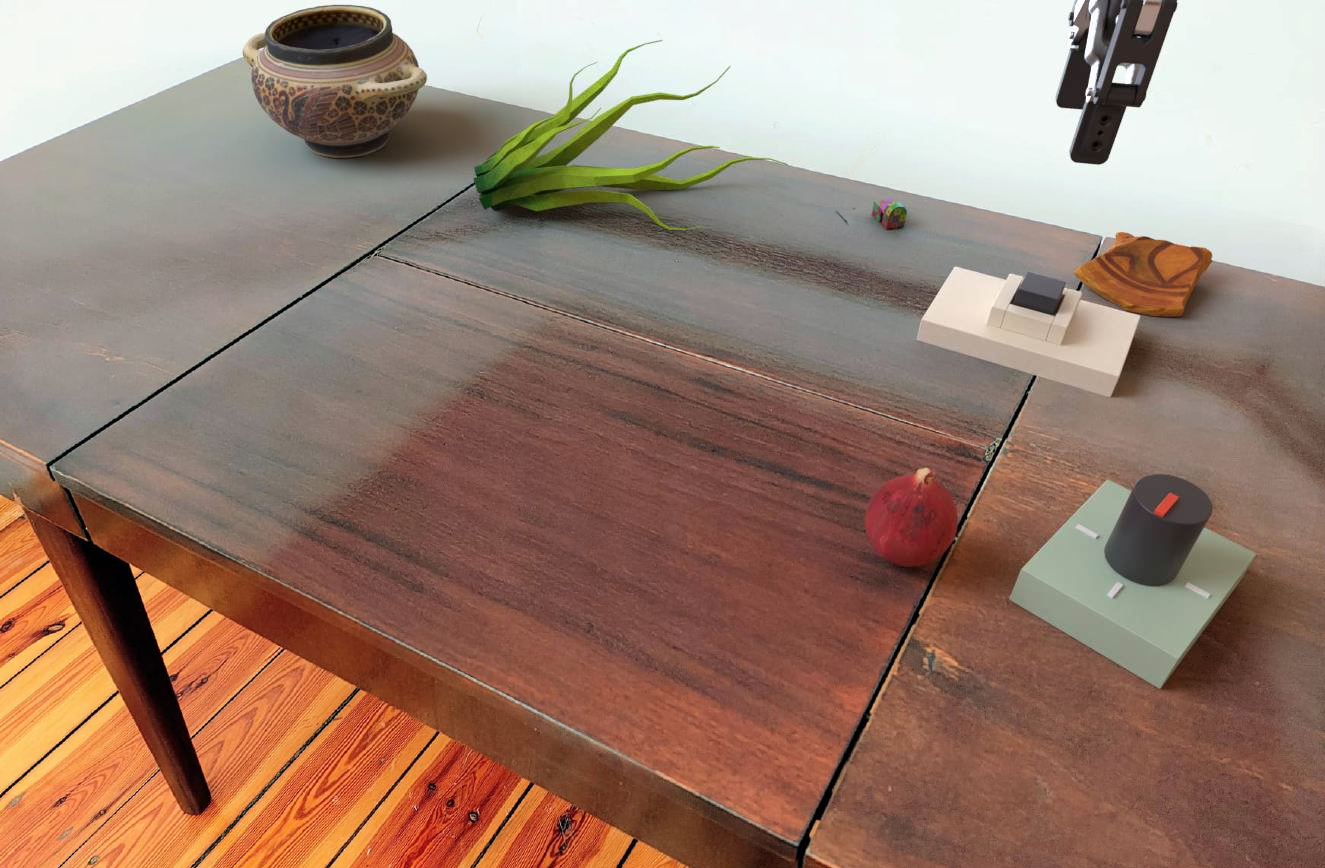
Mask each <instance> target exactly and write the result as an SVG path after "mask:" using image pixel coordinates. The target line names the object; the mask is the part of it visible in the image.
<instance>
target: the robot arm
mask: <svg viewBox="0 0 1325 868" xmlns="http://www.w3.org/2000/svg"><path fill="white" fill-rule="evenodd" d="M1177 9H1178V0H1074V2H1073V6H1072V9H1071V11H1070V12H1069V14H1068V19H1067V20H1068V27H1072V28H1071V30H1070V31H1069V33H1068V38H1067V40H1068V46H1070V48H1069V51H1068V54H1067V57H1066V61H1065V64H1064V67H1063V70H1062V73H1061V76H1060V81H1059V84H1058V88H1057V90H1056V93H1055V97H1054V98H1055V99H1054V100H1055V103H1056V106H1057V107H1059V108H1060V109H1071V110H1081V113H1080V115H1079V119H1078V122H1077V125H1076V129H1075V132H1074V134H1073V137H1072V140H1071V143H1070V146H1069V151H1068V153H1069V158H1070V160H1071V161H1072V162H1073V163H1077V164H1087V165H1097V166H1100V165H1103V164H1105V163H1106V162H1107V161H1108V160H1109V158H1110V155H1111V152H1112V149H1113V147H1114V143H1115V141H1116V138H1117V135H1118V132H1119V130H1120V127H1121V125H1122V121H1123V119H1124V116H1125V112H1126V110H1127V107H1129V108H1139V109H1140V108H1141V107H1142V105H1143V103H1144V102H1145V100H1146V98H1147V92H1148V90H1149V86H1150V84H1151V80H1152V77H1153V75H1154V72H1155V69H1156V66H1157V63H1158V60H1159V57H1160V56H1161V55H1160V54H1161V52H1162V49H1163V46H1164V43H1165V39H1166V37H1167V34H1168V31H1169V29H1170V25H1171V23H1172V20H1173V17H1174V14H1175V13H1176V11H1177ZM1118 67H1123V68H1125V76H1124V82H1113V80H1114V79H1115V74H1116V71H1117V68H1118Z"/></svg>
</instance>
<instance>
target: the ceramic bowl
mask: <svg viewBox="0 0 1325 868" xmlns="http://www.w3.org/2000/svg"><path fill="white" fill-rule="evenodd" d="M242 57H243V59H244V60H245V62H246V63H247V64H248V65H249V66H250V67H251V84H252V91H253V93H254V96H255V98H256V100H257V102H258V104H259V105H260V108H261V109H263V111H264V112H265V113H266V115H267V116H268V117H269V118H270V119H271V121H273V122H274V123H275V124H277V125H278V126H279V127H280V128H282V129H283V130H284V131H286V132H288V133H289V134H291V135H293V136H296V137H298V138H300V139H303V140H304V142H305V146H306V147H307V148H308V149H309V150H310V151H311V152H312V153H314V154H316V155H319V156H323V157H328V158H333V159H341V158H342V159H348V158H356V157H363V156H366V155H370V154H372V153H375V152H376V151H378V150H380V149H382V148H383V147H384V146H385V145H386V144H387V143H388V141H389V140H390V131H391V130H392V129H393V128H394V127H395V126H397V125H398V124H399V123H400V122H402V120H403V119H404V118H405V116H406V115H407V114H408V113H409V111H410V110H411V109H412V106H413V104H414V103H415V102H416V99H417V96H418V93H419V90H420V89H422V88H423V87H424V86H425V85H426V83H427V81H428V74H427V73H426V71H424V69H423V68H420V66H419V62H418V59H417V57H416V54H415V53H414V50H413V49H412V47H410V45H409V44H408V43H407V42H406V41H405V40H404V39H402V37H400V36H399V35H398V34H396V33H394V32H393V26H392V20H391V18H390V17H389V16H388V15H387V14H386V13H384V12H382V11H381V10H379V9H376V8H374V7H370V6H365V5H357V4H327V5H318V6H313V7H308V8H304V9H300V10H296V11H293V12H291V13H289V14H285V15H283V16H281V17H278V18H277V19H275V20H272V21H271V23H270V24H268V26H267V27H266V29H265V32H261V33H257V34H255V35H254V36H252V37H251V38H249V39H248V40H247V41H246V43H245V44H244V45H243V48H242Z"/></svg>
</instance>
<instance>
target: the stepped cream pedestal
mask: <svg viewBox="0 0 1325 868" xmlns="http://www.w3.org/2000/svg"><path fill="white" fill-rule="evenodd" d="M1024 277H1025V276H1022V275H1019V274H1016V273H1015V274H1014V273H1012V272H1011V273H1009V274H1008V276H1007V278H1006V279H1004V278H1001V277H997V276H993V275H989V274H985V273H983V272H982V273H981V272H978V271H975V270H971V269H967V268H963V267H959V266H954V267H953V269H952V270H951V272H950V273H949V275H948V277H947V278H946V280H945V281H944V283H943V284H942V286H941V287H940V289H939V291H938V293H937V294H936V296H935V297H934V299H933V301H932V302H931V304H930V305H929V306H928V308H927V310H926V311H925V313H924V315H923V316H922V318H921V320H920V324H919V328H918V331H917V335H916V341H919V342H922V343H925V344H927V345H932V346H935V347H938V348H942V349H945V350H948V351H952V352H955V353H959V354H962V355H966V356H969V357H971V358H976V359H979V360H982V361H986V362H990V363H993V364H995V365H999V366H1003V367H1006V368H1009V369H1012V370H1016V371H1020V372H1023V373H1026V374H1029V375H1032V376H1036V377H1039V378H1043V379H1047V380H1049V381H1053V382H1056V383H1060V384H1063V385H1067V386H1070V387H1072V388H1073V387H1074V388H1075V389H1079V390H1082V391H1087V392H1090V393H1094V394H1097V395H1100V396H1104V397H1107V398H1112V396H1113V393H1114V391H1115V388H1116V387H1117V384H1118V381H1119V379H1120V377H1121V374H1122V371H1123V368H1124V366H1125V362H1126V360H1127V357H1128V354H1129V351H1130V349H1131V346H1132V343H1133V339H1134V337H1135V335H1136V331H1137V329H1138V326H1139V324H1140V321H1141V317H1142V316H1141V315H1140V314H1137V313H1133V312H1129V311H1126V310H1121V309H1117V308H1113V307H1110V306H1105V305H1102V304H1098V303H1094V302H1091V301H1088V300H1083V299H1081V298H1082V296H1083V291H1080V290H1075V289H1073V288H1072V289H1071V288H1067V287H1064V290H1063V293H1062V295H1061V298H1060V301H1059V303H1058V305H1057V307H1056V309H1055V311H1054V314H1053V316H1052V315H1049V314H1045V313H1041V312H1038V311H1034V310H1030V309H1027V308H1023V307H1019V306H1016V305H1013V304H1014V300H1015V297H1016V294H1017V291H1018V288H1019V287H1020V285H1021V283H1022V281H1023V279H1024Z"/></svg>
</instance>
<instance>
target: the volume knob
mask: <svg viewBox="0 0 1325 868" xmlns="http://www.w3.org/2000/svg"><path fill="white" fill-rule="evenodd" d="M1130 491H1131V493H1130V495H1129V498H1128V500H1127V502H1126V504H1125V506H1124V508H1123V510H1122V512H1121V514H1120V516H1119V518H1118V520H1117V522H1116V525H1115V527H1114V529H1113V531H1112V533H1111V535H1110V537H1109V539H1108V541H1107V543H1106V545H1105V549H1104V554H1105V558H1106V560H1107V562H1108V564H1109V565H1110V566H1111V567H1112V568H1113V569H1114V570H1115V571H1116V572H1117V573H1118V574H1120V575H1121V576H1123V577H1124V578H1126V579H1128V580H1130V581H1133V582H1135V583H1139V584H1143V585H1149V586H1159V585H1164V584H1167V583H1169V582H1171V581H1173V580H1174V579H1175V578H1176V576H1177V574H1178V573H1179V571H1180V569H1181V567H1182V566H1183V564H1184V562H1185V560H1186V559H1187V557H1188V555H1189V553H1190V552H1191V550H1192V548H1193V546H1194V544H1195V543H1196V541H1197V539H1198V537H1199V536H1200V534H1201V532H1202V530H1203V529H1204V527H1205V526H1207V523H1208V521H1209V520H1210V518H1211V517H1212V514H1213V510H1214V508H1213V503H1212V500H1211V499H1210V497H1209V496H1208V495H1207V494H1206V492H1205V491H1204V490H1203V489H1201V488H1200V486H1197V485H1196V484H1195V483H1192V482H1191V481H1189V480H1187V479H1185V478H1182V477H1179V476H1176V475H1172V474H1167V473H1166V474H1165V473H1153V474H1148V475H1144V476H1142V477H1141V478H1139V479H1138V480H1137V481H1136V482H1135V483H1134V485H1133V487H1132V489H1131V490H1130ZM1205 528H1206V527H1205Z"/></svg>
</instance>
